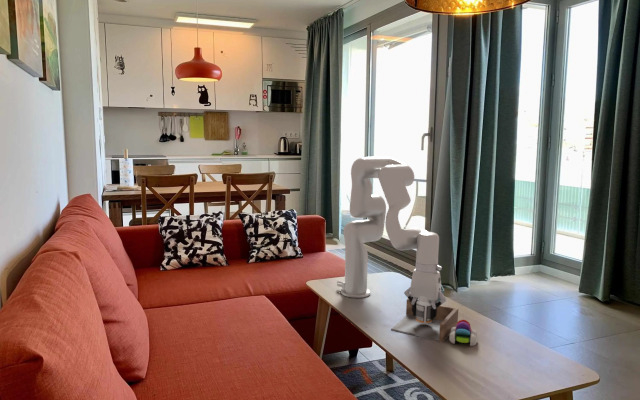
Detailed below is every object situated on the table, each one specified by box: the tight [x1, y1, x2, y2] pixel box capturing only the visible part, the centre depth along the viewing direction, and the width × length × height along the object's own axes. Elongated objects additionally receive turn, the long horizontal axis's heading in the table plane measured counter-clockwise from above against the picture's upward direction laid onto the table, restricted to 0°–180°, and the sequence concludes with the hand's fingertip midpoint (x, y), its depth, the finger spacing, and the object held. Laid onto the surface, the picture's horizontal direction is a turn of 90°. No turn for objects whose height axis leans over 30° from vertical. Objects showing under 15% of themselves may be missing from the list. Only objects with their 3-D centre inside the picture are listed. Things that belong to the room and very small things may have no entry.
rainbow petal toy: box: [448, 319, 478, 347], centre depth 163 cm, size 8×10×7 cm
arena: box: [390, 298, 459, 343], centre depth 175 cm, size 19×19×6 cm
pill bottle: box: [416, 296, 432, 324], centre depth 175 cm, size 6×6×10 cm
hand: (423, 316), depth 175 cm, fingers closed on pill bottle, 5 cm apart
